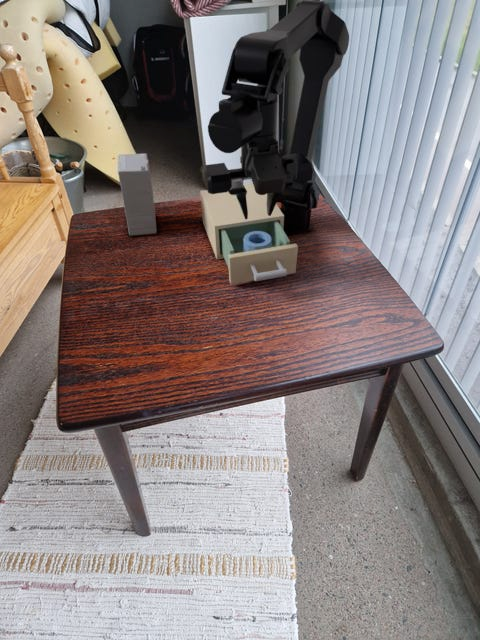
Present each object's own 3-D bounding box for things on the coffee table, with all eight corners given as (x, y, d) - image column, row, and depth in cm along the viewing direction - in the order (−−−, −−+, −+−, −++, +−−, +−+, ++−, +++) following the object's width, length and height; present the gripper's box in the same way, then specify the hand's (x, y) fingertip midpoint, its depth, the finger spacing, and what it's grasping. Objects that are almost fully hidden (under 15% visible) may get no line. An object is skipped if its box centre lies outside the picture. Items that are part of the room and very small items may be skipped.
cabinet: (282, 248, 92) (284, 215, 86) (216, 259, 89) (214, 226, 84) (261, 213, 103) (262, 182, 97) (202, 222, 100) (199, 190, 94)
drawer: (304, 287, 81) (307, 260, 76) (236, 300, 78) (235, 273, 74) (273, 234, 94) (274, 209, 90) (214, 244, 92) (213, 218, 87)
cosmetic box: (128, 218, 102) (114, 154, 91) (158, 215, 103) (147, 150, 92) (128, 237, 96) (113, 170, 85) (160, 234, 97) (148, 167, 86)
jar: (265, 250, 88) (266, 229, 84) (274, 265, 84) (275, 243, 80) (240, 254, 87) (240, 233, 83) (248, 270, 83) (247, 248, 79)
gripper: (212, 157, 60) (218, 248, 71) (332, 142, 64) (320, 231, 74) (198, 130, 68) (205, 215, 79) (306, 118, 71) (298, 202, 82)
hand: (257, 216), depth 78 cm, fingers open, 4 cm apart
